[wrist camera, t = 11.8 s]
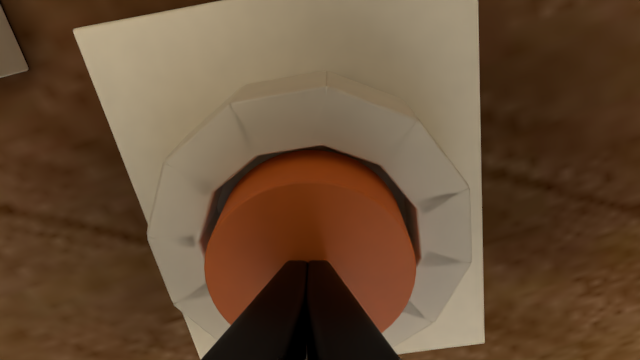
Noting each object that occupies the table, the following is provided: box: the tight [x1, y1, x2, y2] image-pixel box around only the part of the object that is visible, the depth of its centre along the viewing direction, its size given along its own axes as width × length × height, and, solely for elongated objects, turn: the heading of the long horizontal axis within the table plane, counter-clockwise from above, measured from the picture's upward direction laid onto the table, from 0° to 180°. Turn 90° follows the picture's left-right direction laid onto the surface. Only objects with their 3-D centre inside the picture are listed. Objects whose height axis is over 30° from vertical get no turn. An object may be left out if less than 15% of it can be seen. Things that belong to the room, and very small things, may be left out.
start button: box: [204, 150, 416, 333], centre depth 10 cm, size 4×4×2 cm
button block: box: [73, 0, 485, 360], centre depth 12 cm, size 11×9×4 cm
